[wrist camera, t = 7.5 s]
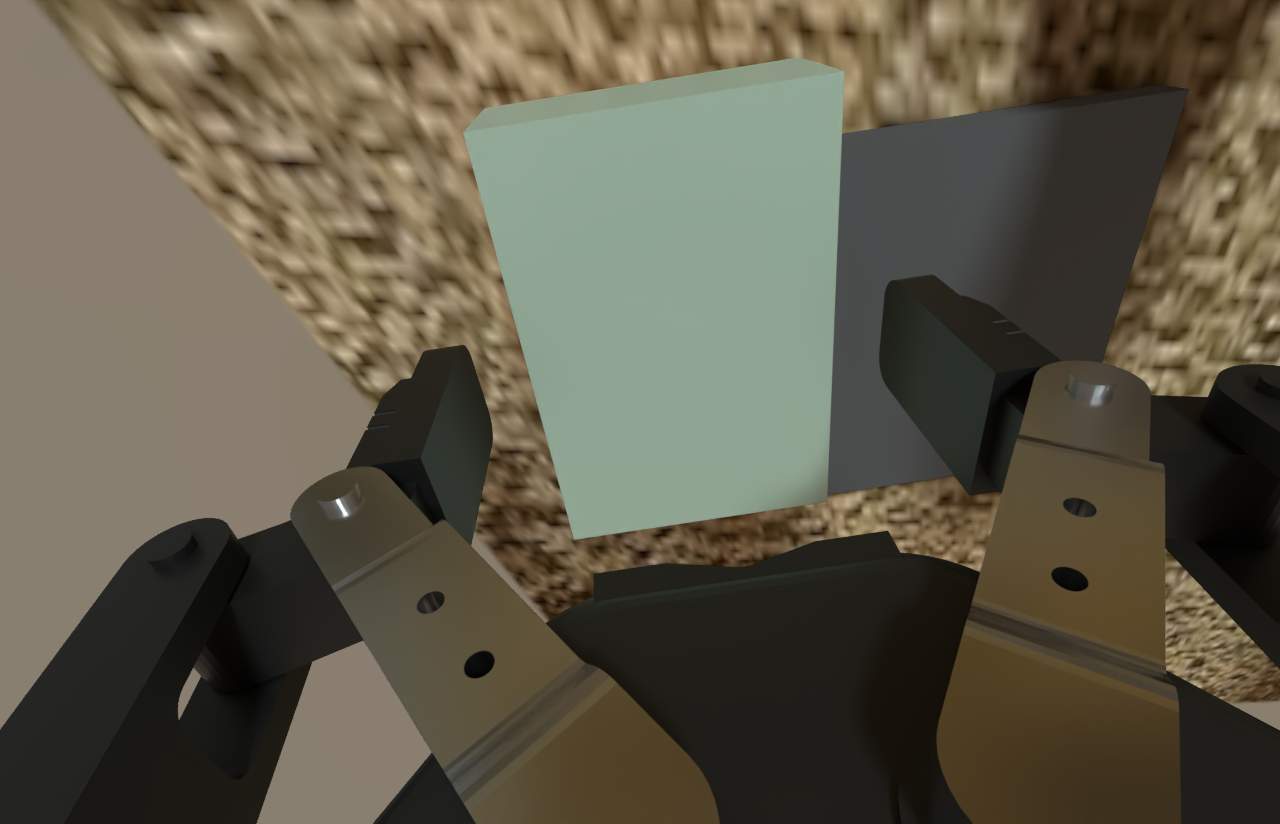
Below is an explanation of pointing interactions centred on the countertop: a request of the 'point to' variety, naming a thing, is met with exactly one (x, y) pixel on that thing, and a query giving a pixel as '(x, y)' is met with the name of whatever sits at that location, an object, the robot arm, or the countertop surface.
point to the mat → (987, 244)
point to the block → (674, 286)
